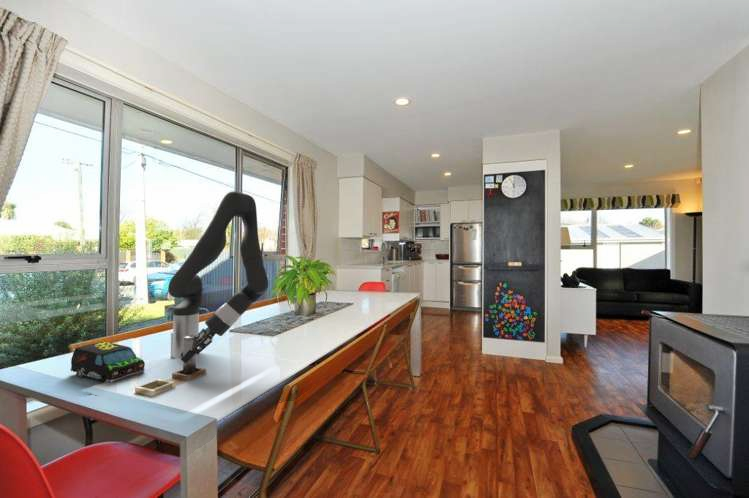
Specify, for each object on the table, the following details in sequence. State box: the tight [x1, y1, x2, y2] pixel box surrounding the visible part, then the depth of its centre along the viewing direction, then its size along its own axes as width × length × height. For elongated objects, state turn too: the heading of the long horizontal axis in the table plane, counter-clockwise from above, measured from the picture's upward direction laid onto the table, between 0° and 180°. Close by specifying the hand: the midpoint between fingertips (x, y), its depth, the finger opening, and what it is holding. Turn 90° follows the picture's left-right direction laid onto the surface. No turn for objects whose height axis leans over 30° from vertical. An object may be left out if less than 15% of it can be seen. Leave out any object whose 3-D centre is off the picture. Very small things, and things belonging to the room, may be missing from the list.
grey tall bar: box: [182, 335, 197, 375], centre depth 110 cm, size 4×4×13 cm
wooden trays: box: [133, 366, 207, 398], centre depth 104 cm, size 7×20×3 cm, turn 161°
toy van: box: [70, 341, 146, 384], centre depth 113 cm, size 11×25×10 cm, turn 66°
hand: (183, 358), depth 109 cm, fingers open, 4 cm apart
